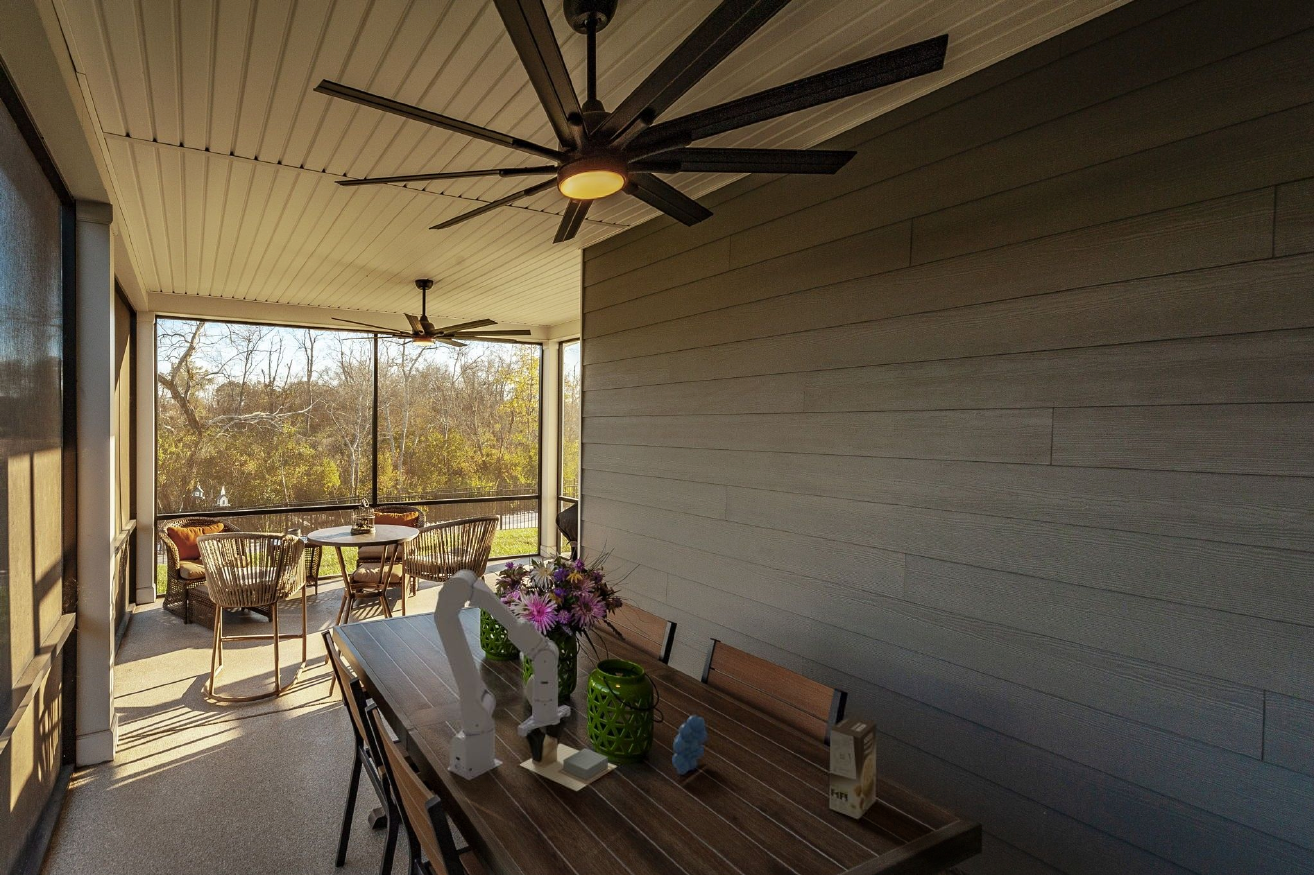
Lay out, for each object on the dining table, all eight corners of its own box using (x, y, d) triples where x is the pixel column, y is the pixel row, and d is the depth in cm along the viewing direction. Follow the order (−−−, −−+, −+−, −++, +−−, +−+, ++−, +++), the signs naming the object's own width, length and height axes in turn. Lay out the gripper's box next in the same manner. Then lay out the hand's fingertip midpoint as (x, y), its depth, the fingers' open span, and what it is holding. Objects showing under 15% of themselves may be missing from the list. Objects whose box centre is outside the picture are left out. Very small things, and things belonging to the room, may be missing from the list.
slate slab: (586, 781, 137) (586, 769, 137) (563, 771, 141) (563, 760, 141) (607, 768, 142) (607, 757, 142) (584, 759, 146) (585, 748, 147)
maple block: (544, 767, 142) (544, 745, 142) (531, 762, 145) (532, 740, 145) (557, 760, 146) (557, 738, 146) (544, 755, 148) (545, 734, 148)
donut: (522, 707, 176) (523, 671, 177) (531, 703, 179) (532, 668, 179) (548, 716, 171) (548, 679, 171) (557, 712, 173) (558, 675, 174)
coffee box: (859, 821, 124) (859, 738, 124) (828, 809, 128) (828, 729, 129) (876, 801, 131) (876, 723, 132) (846, 790, 135) (847, 714, 136)
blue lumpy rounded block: (689, 755, 150) (690, 704, 150) (713, 764, 146) (713, 711, 146) (658, 774, 141) (659, 720, 141) (682, 785, 137) (683, 729, 137)
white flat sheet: (576, 794, 133) (576, 790, 133) (519, 767, 144) (519, 764, 144) (617, 769, 143) (617, 765, 143) (560, 746, 154) (560, 743, 154)
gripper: (533, 711, 137) (532, 775, 137) (579, 691, 149) (579, 749, 149) (511, 703, 141) (510, 765, 141) (558, 684, 153) (557, 741, 153)
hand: (544, 756), depth 145 cm, fingers closed on maple block, 4 cm apart
